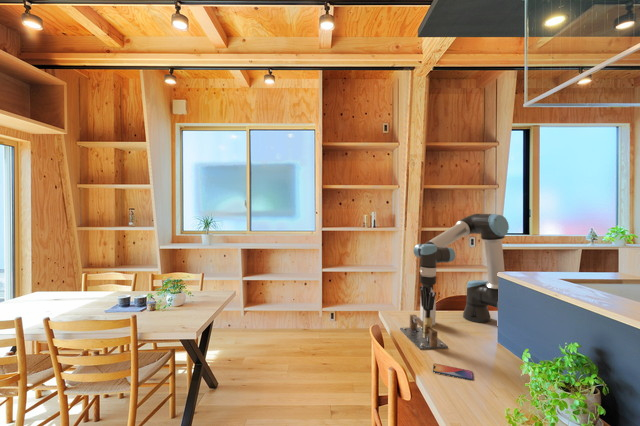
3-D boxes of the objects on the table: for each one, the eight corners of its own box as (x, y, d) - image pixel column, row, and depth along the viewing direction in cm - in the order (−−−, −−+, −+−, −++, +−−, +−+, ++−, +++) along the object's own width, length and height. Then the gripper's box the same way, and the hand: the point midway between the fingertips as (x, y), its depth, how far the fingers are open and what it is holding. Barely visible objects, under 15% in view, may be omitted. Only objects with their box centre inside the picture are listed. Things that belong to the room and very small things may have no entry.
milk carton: (432, 321, 194) (433, 289, 194) (435, 325, 187) (436, 292, 187) (419, 320, 195) (420, 288, 195) (422, 324, 188) (423, 291, 188)
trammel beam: (414, 327, 181) (415, 314, 181) (437, 346, 156) (437, 331, 156) (409, 327, 181) (409, 314, 181) (431, 346, 156) (431, 331, 156)
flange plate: (424, 328, 182) (424, 325, 182) (447, 348, 157) (448, 345, 157) (399, 329, 180) (400, 326, 180) (420, 349, 155) (420, 346, 155)
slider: (429, 339, 164) (430, 316, 163) (431, 341, 162) (432, 318, 161) (422, 339, 163) (423, 316, 163) (424, 341, 161) (425, 318, 161)
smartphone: (473, 382, 128) (473, 379, 128) (432, 373, 134) (432, 370, 133) (472, 373, 135) (472, 370, 135) (433, 365, 140) (433, 363, 140)
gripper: (415, 272, 170) (413, 318, 170) (426, 278, 157) (425, 327, 157) (429, 272, 171) (427, 318, 171) (441, 278, 158) (440, 327, 158)
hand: (426, 322), depth 164 cm, fingers closed
